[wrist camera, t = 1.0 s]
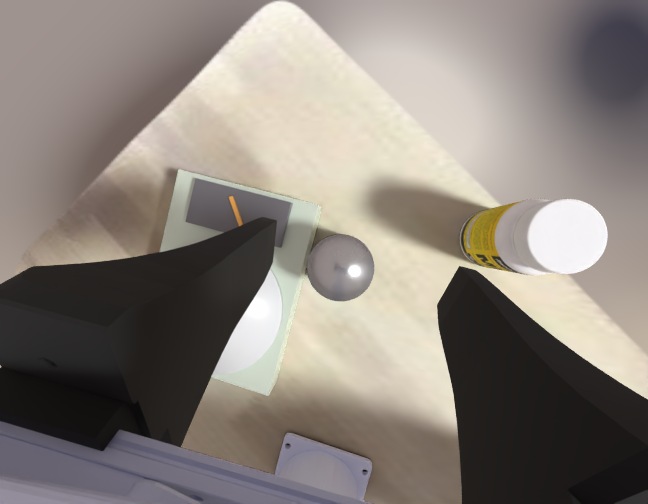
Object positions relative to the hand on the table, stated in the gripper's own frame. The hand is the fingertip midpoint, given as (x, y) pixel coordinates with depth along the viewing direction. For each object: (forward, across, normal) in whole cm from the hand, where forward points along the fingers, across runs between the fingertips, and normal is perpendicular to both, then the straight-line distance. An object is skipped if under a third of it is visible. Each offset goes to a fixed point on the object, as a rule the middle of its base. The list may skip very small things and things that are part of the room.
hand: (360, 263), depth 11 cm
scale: (+9, +9, +11) cm, 17 cm away
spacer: (+11, 0, +8) cm, 13 cm away
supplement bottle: (+13, -11, +3) cm, 17 cm away
